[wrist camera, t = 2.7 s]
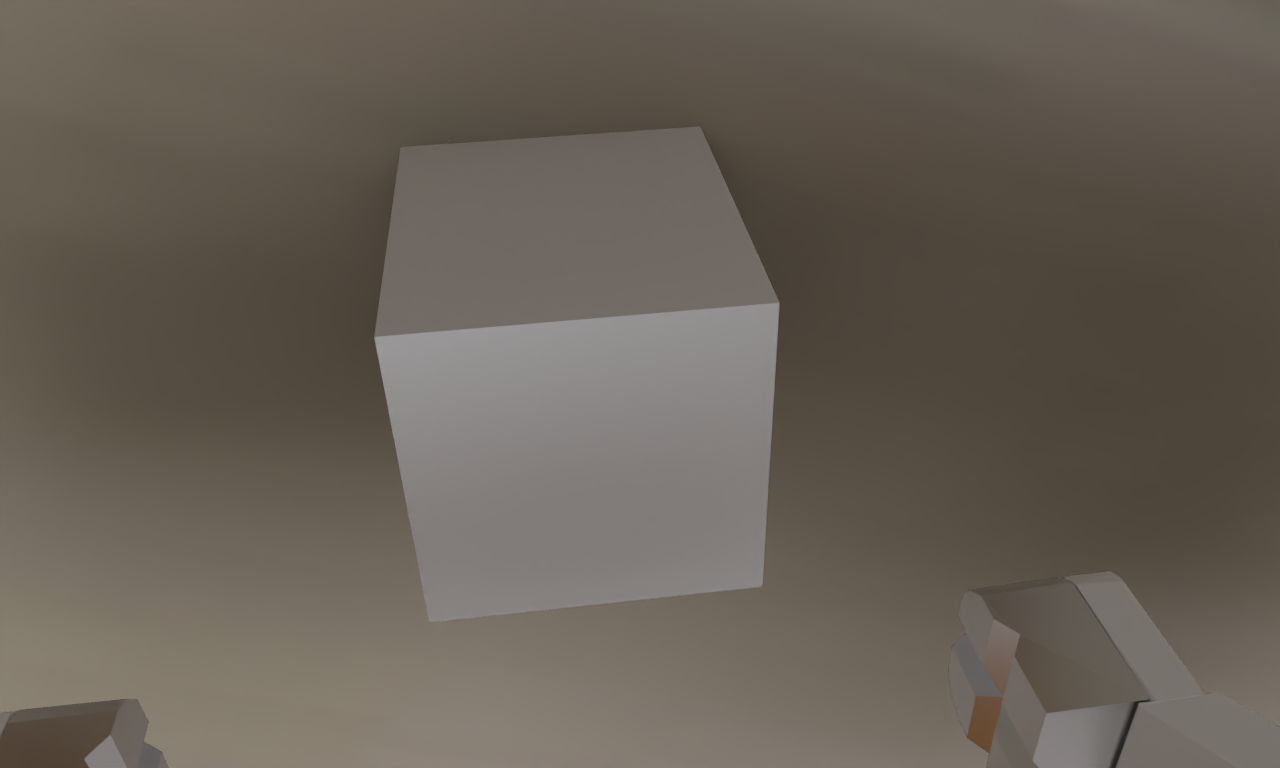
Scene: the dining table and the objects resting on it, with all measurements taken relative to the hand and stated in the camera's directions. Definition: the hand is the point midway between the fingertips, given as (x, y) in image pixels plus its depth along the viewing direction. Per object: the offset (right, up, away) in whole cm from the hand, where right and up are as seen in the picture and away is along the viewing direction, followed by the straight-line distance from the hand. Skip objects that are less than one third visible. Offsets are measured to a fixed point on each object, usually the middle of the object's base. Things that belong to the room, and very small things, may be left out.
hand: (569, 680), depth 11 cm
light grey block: (-1, +5, +6) cm, 8 cm away
